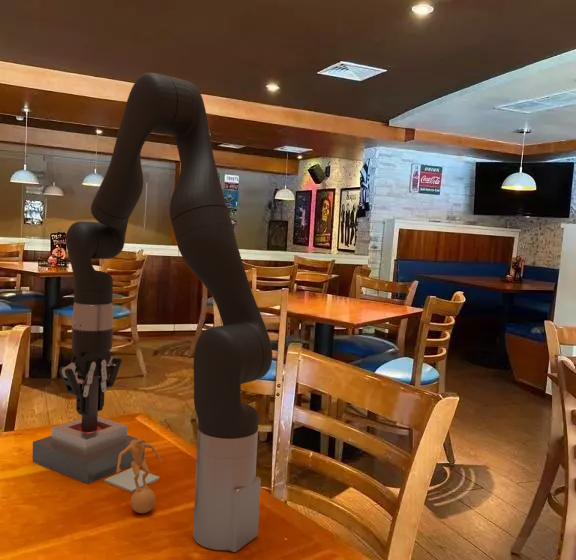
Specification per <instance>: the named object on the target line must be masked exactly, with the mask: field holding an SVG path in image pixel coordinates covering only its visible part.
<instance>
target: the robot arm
mask: <svg viewBox="0 0 576 560" xmlns="http://www.w3.org/2000/svg"><path fill="white" fill-rule="evenodd" d="M119 124H120V125H119V128H118V131H117V136H116V139H115V144H114V147H113V151H112V154H111V159H110V161H109V162H110V163H109V165H108V168H107V170H106V172H105V175H104V176H103V179H102V182H101V183H100V185H99V187H98V190H97V192H96V194H95V196H94V198H93V200H92V202H91V205H90V212H91V214H92V217H93V219H95V222H94V221H93V222H92V221H75V222H74V223H72V224H70V225H69V227H68V229H67V230H66V234H65V246H66V251H67V254H68V255H67V256H68V259H69V262H70V266H71V270H72V275H73V281H74V290H73V291H74V292H73V295H74V296H73V298H74V299H73V301H74V302H73V308H72V309H73V310H72V317H71V319H72V320H71V321H72V322H71V349H72V352H73V356H72V358H71V363H69V364H68V365H66V366H60V367H59V369H58V372H59V375H60V378H61V380H62V382H63V385H64V388H65V389H66V392H67V394H70V395H72V396H73V395H74V396H75V397H76V399H75V404H76V405H75V406H76V407H75V410H76V412H77V414H78V415H81V416H82V415H83V416H84V415H87V414H88V400H89V397H88V392H89V386H90V385H91V384H92V379H93V376H97V375H99V389H98V412H101V411H103V407H104V405H105V393H106V391H107V390H108V388H112V387H113V386H114V384H115V381H116V378H117V375H118V372H119V370H120V368H121V364H122V358H120V357H116V356H112V353H111V351H110V350H112V348H113V338H114V337H113V334H114V309H113V291H114V289H113V287H114V286H113V285H114V280H113V276H112V274H111V273H109V272H107V271H103V270H102V271H101V270H97V269H95V267H94V266H93V263H92V260H108V259H109V260H110V259H111V260H112V259H114V258H115V257H118V256H119V254H121V253H122V251H123V249H124V245H125V241H126V234H127V230H128V229H127V228H128V224H129V219H130V217H131V215H132V214H133V212H134V210H135V208H136V206H137V204H138V202H139V201H140V199H141V196H142V193H143V189H144V173H143V167H142V162H141V154H142V149H143V146H144V144H145V143H146V141H147V139H148V138H149V137H150V136H151V134H152V133H153V134H160V135H166V136H171V137H173V139H174V141H175V144H176V145H175V146H176V148H177V152H178V157H179V163H180V168H179V169H180V170H179V174H178V178H177V181H176V184H175V186H174V190H173V193H172V196H171V198H170V205H169V217H170V221H171V226H172V230H173V234H174V238H175V242H176V245H177V248H178V251H179V254H180V255H181V257H182V258H183V260H184V262H185V263H186V265H187V266H188V267H189V268H190V269H191V271H192V272H193V273H194V275H195V276H196V277H197V279H199V280H200V282H201V283H202V284H203V285H204V287H205V288H206V290H207V291H208V292H209V293H210V295H211V296H212V299H213V300H214V302H215V305H216V307H217V310H218V313H219V316H220V319H221V324H222V325H218V326H213V327H209V328H207V329H205V330H204V331H203V332H201V334H200V335H199V336H198V338H197V341H196V342H195V345H194V346H195V347H194V351H193V404H194V409H195V410H194V411H195V413H196V416H197V436H196V437H197V438H196V439H197V440H196V459H195V460H196V461H195V464H196V465H195V482H194V483H195V484H194V485H195V486H194V503H193V504H194V507H193V508H194V509H193V510H194V511H193V512H194V514H193V531H192V532H193V533H192V535H193V538H194V541H195V542H196V543H197V544H199V545H200V546H202V547H204V548H207V549H210V550H215V551H230V552H232V553H236V552H238V551H239V550H240V549H242V548H244V546H246V545H247V544H249V543H250V542H252V541H253V540H254V539H255V538H257V537H258V535H259V519H260V518H259V517H260V503H261V502H260V499H261V497H260V496H261V485H262V484H261V482H262V481H261V480H262V479H261V477H260V476H258V475H257V476H256V474H257V471H256V470H257V457H258V456H257V452H258V437H259V421H260V420H259V419H260V418H259V417H260V416H259V413H258V410H257V409H256V408H255V407H254V406H252V405H250V404H247V403H243V402H242V393H241V391H242V389H241V385H243V384H246V383H249V382H250V383H251V382H254V381H257V380H260V379H262V378H264V377H265V376H266V375H267V374H268V372H269V371H270V369H271V366H272V363H273V349H272V342H271V339H270V335H269V333H268V330H267V327H266V324H265V322H264V319H263V316H262V314H261V311H260V310H259V307H258V303H257V302H256V299H255V296H254V294H253V292H252V291H253V290H252V289H251V286H250V282H249V279H248V276H247V273H246V268H245V267H244V266H245V265H244V262H243V260H242V257H241V253H240V249H239V246H238V244H237V243H238V242H237V239H236V234H235V230H234V227H233V222H232V219H231V216H230V211H229V208H228V205H227V201H226V199H225V195H224V192H223V187H222V184H221V181H220V177H219V172H218V168H217V164H216V162H215V156H214V152H213V146H212V141H211V134H210V128H209V124H208V116H207V112H206V106H205V103H204V99H203V95H202V93H201V92H200V90H199V88H198V86H196V85H195V84H194V83H193V82H190V81H188V80H186V79H182V78H178V77H174V76H170V75H167V74H161V73H157V72H145V73H143V74H141V75H140V76H138V78H137V79H136V80H135V82H134V83H133V85H132V87H131V90H130V92H129V94H128V97H127V100H126V103H125V106H124V111H123V114H122V117H121V121H120V123H119ZM96 221H97V222H96ZM83 378H86V379H85V380H84V379H83ZM82 385H83V389H82Z"/></svg>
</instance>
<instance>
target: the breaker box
mask: <svg viewBox="0 0 576 560" xmlns="http://www.w3.org/2000/svg"><path fill="white" fill-rule="evenodd" d="M81 422H82V417H81V418H78V419H75V420H72V421H69V422H65V423H63V424H62V423H61V424H58V425H55V426H53V427H51V435H50V436H46V437H43V438H39V439H37V440H34V441H32V460H31V461H32V463H35V464H37V465H40V466H42V467H45V468H48V469H50V470H52V471H55V472H57V473H59V474H61V475H65V476H67V477H68V478H71V479H75V480H77V481H79V482H82V483H83V484H87V485H90V484H92V483H94V482H97V481H99V480H101V479H104V478H106V477H108V476H111V475H113V474H116V473H118V472H117V464H118V457H119V454H120V453H121V452H122V451H123V450H124V449H126V447H127V446H129V444H130V442H131V441H132V440H135V439H136V440H138V439H139V438H138V437H134V436H132V435H128V425H127V424H123V423H120V422H116V421H114V420H111V419H107V418H104V417H102V416H99V415H98V423H97V426H98V427H101V428H102V430H99V431H96V432H93V433H90V434H86V433H83V432H80V431H78V430H79V429H80V428H81ZM141 440H142V442H144V443H146V441H145V440H143V439H141ZM145 448H146V447H144V452H143V455H142V460H143V458H145ZM132 461H134V458H133V456H132V453H131V451H128V452H127V453H125V454H124V455H122V458H121V464H120V467H119V468H120V469H121V471H122V470H125V469H126V468H129V467H131V462H132ZM119 471H120V470H119ZM121 471H120V472H121Z"/></svg>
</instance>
